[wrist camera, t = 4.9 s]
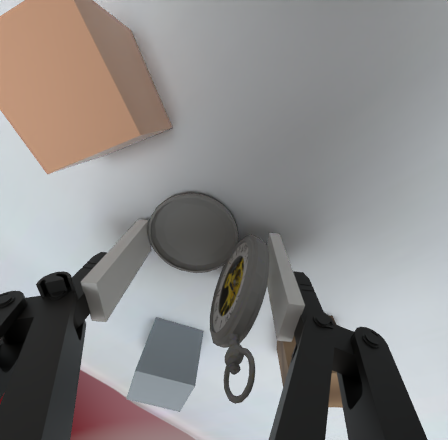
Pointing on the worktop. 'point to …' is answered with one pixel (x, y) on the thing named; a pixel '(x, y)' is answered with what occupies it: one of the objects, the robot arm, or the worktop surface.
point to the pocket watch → (212, 259)
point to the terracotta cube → (74, 82)
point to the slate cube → (167, 366)
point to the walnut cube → (285, 358)
